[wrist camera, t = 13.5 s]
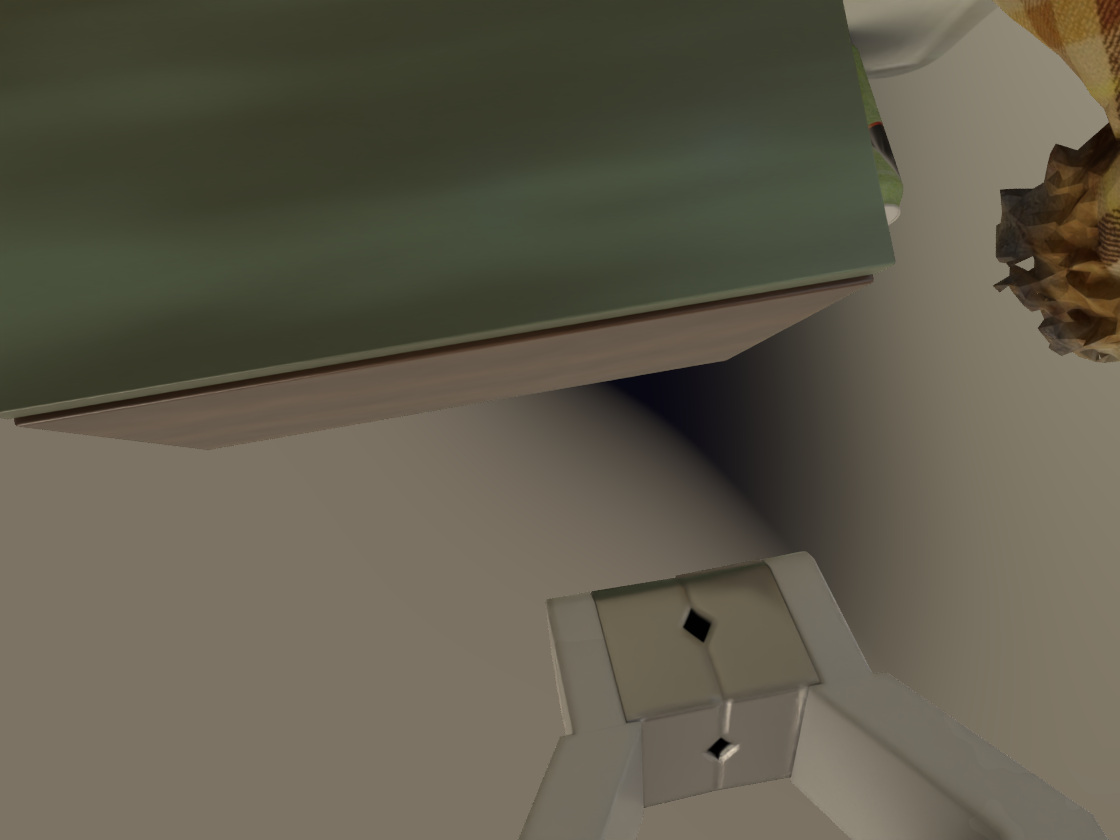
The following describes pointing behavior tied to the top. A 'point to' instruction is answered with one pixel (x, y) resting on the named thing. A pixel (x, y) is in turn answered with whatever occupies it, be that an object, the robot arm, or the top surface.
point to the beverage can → (880, 147)
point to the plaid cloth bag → (1072, 193)
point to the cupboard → (449, 373)
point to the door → (404, 177)
